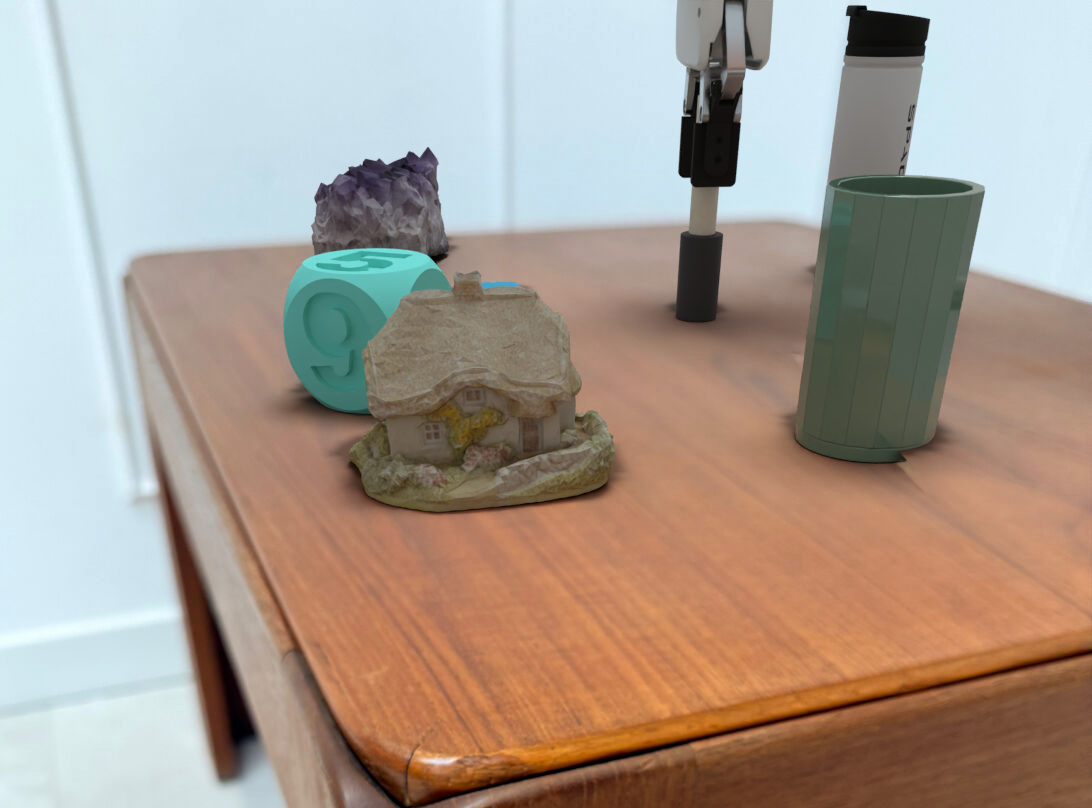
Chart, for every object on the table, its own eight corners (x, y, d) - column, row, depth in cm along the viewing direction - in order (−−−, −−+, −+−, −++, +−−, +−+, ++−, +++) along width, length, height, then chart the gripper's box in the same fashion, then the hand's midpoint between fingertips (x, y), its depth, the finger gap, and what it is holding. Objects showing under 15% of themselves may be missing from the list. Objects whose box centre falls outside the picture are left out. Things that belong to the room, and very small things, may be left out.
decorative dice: (461, 384, 72) (456, 252, 67) (405, 421, 66) (394, 279, 61) (355, 371, 74) (342, 244, 70) (291, 406, 68) (272, 269, 63)
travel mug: (800, 273, 98) (833, 4, 87) (868, 269, 99) (910, 3, 88) (827, 288, 93) (867, 5, 82) (899, 284, 94) (948, 4, 83)
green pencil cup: (904, 416, 66) (950, 173, 58) (953, 460, 59) (1011, 195, 52) (779, 420, 65) (809, 176, 58) (815, 465, 59) (854, 198, 51)
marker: (711, 311, 87) (729, 92, 79) (720, 321, 85) (739, 96, 76) (672, 312, 87) (685, 93, 78) (679, 322, 84) (694, 97, 76)
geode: (354, 239, 114) (358, 131, 108) (462, 258, 113) (472, 149, 108) (290, 272, 97) (292, 145, 91) (417, 294, 96) (426, 167, 91)
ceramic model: (339, 516, 54) (314, 302, 48) (353, 440, 63) (334, 252, 57) (622, 506, 54) (631, 294, 49) (596, 432, 64) (601, 246, 58)
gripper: (824, -152, 63) (785, 198, 74) (756, -127, 77) (731, 166, 87) (696, -152, 63) (675, 200, 73) (650, -126, 77) (638, 167, 87)
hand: (706, 178), depth 80 cm, fingers open, 4 cm apart
